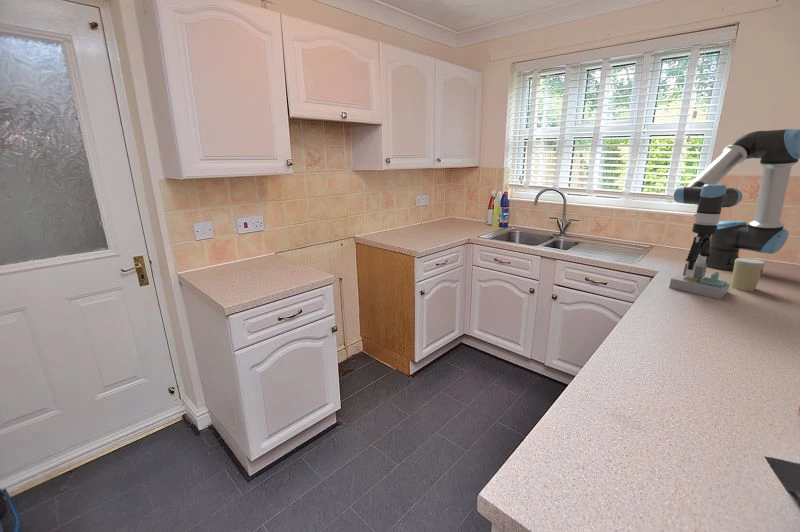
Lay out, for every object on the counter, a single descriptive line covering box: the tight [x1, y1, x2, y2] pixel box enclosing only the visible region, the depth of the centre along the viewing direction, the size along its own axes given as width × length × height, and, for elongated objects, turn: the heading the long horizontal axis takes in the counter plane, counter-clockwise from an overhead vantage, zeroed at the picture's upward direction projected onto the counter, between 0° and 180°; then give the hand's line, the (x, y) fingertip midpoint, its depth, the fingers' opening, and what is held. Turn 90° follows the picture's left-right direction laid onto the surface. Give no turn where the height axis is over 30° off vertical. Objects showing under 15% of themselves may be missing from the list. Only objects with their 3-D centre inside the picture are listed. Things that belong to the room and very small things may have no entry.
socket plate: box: [668, 272, 731, 300], centre depth 155 cm, size 12×17×4 cm
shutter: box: [700, 271, 728, 287], centre depth 151 cm, size 7×7×4 cm
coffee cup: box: [730, 257, 766, 292], centre depth 156 cm, size 9×9×12 cm
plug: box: [682, 262, 708, 282], centre depth 156 cm, size 6×6×10 cm
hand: (694, 273), depth 156 cm, fingers open, 13 cm apart
